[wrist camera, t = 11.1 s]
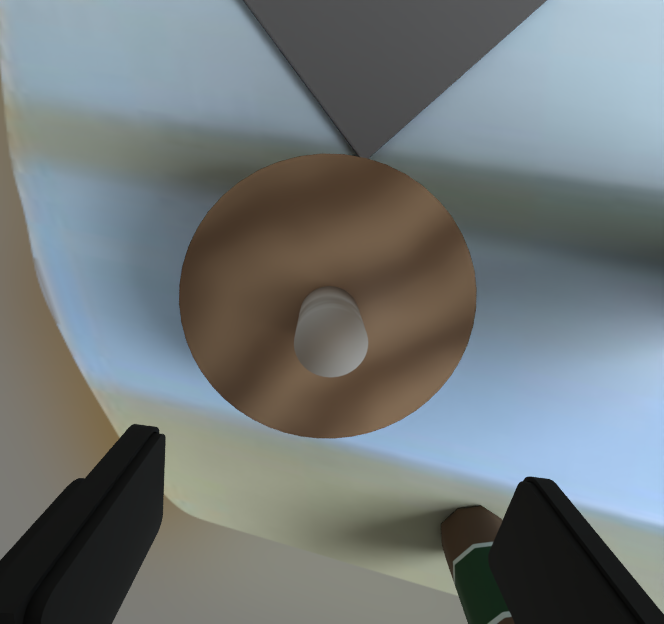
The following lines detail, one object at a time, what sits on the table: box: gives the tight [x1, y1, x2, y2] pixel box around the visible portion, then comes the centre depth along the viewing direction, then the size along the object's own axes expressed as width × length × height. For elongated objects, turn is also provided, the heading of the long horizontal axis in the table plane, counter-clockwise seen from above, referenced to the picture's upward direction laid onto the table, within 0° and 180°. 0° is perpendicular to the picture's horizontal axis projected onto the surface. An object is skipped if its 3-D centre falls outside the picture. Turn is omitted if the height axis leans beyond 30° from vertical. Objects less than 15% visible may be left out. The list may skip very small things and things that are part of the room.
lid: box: [179, 154, 476, 438], centre depth 21 cm, size 20×20×6 cm
